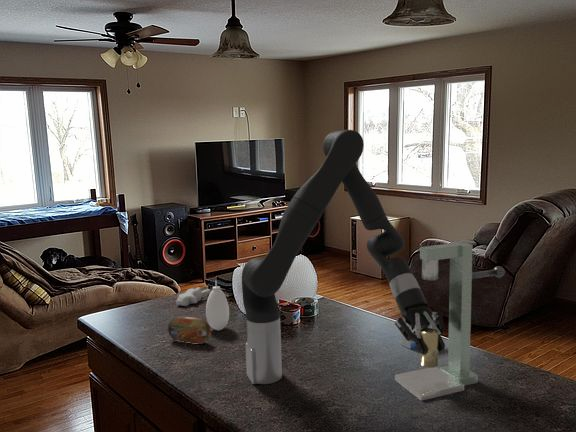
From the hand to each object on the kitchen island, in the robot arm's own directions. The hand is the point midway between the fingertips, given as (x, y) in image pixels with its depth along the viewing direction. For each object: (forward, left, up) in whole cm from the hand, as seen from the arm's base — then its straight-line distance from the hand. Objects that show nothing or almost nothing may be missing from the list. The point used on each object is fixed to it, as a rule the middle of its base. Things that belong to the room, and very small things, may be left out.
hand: (433, 351), depth 132 cm
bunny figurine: (-45, +100, -10) cm, 110 cm away
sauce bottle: (-42, +65, -10) cm, 78 cm away
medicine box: (+12, +26, -10) cm, 30 cm away
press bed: (+8, +2, -10) cm, 13 cm away
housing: (0, +2, -4) cm, 5 cm away
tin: (-53, +58, -10) cm, 79 cm away
